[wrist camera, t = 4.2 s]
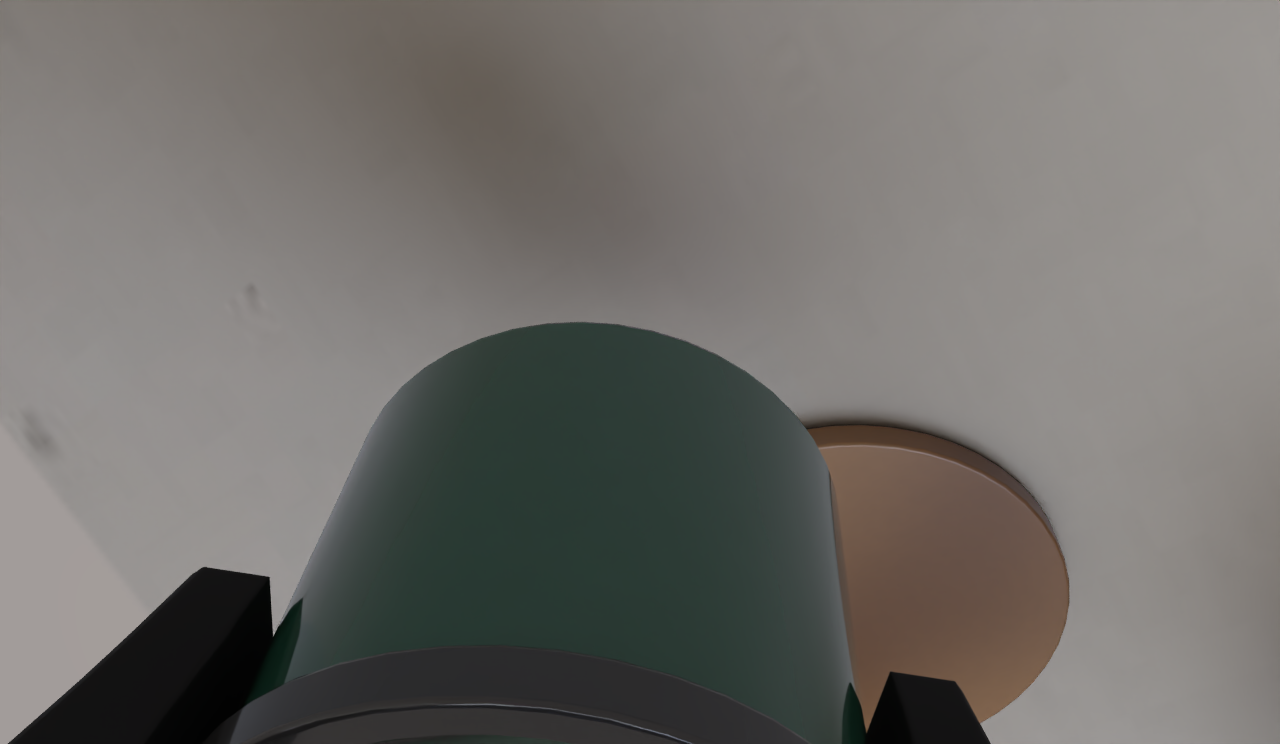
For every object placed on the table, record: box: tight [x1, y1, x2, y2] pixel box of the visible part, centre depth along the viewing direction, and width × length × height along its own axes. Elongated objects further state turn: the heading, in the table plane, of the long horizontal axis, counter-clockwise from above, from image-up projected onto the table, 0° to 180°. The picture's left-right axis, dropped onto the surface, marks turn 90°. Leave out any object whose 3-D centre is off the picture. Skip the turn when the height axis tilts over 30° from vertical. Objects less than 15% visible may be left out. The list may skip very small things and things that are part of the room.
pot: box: [201, 322, 868, 744], centre depth 10 cm, size 6×6×5 cm
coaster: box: [806, 425, 1069, 733], centre depth 22 cm, size 8×8×1 cm
